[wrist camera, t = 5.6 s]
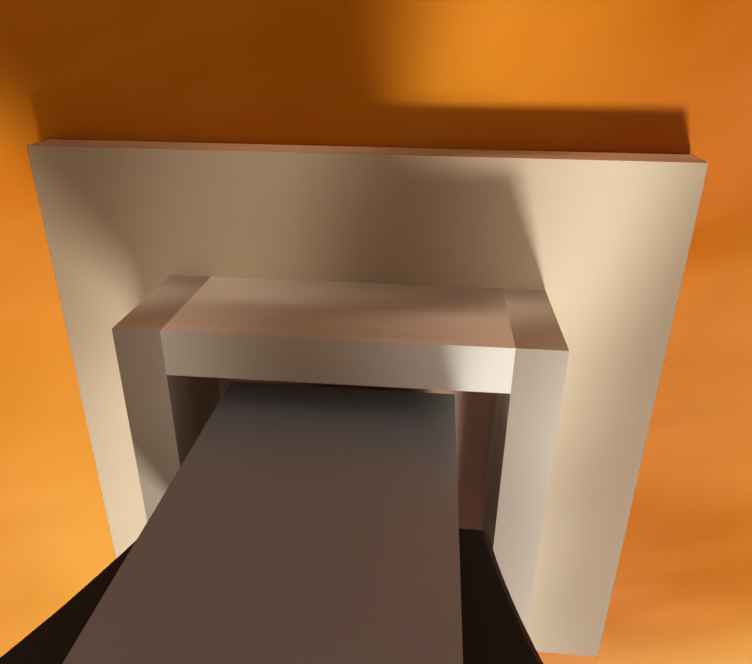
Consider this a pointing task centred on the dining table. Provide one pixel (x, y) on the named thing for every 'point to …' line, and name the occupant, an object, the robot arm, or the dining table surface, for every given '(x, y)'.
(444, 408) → the plug
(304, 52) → the dining table surface
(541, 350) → the holder box
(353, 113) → the dining table surface
